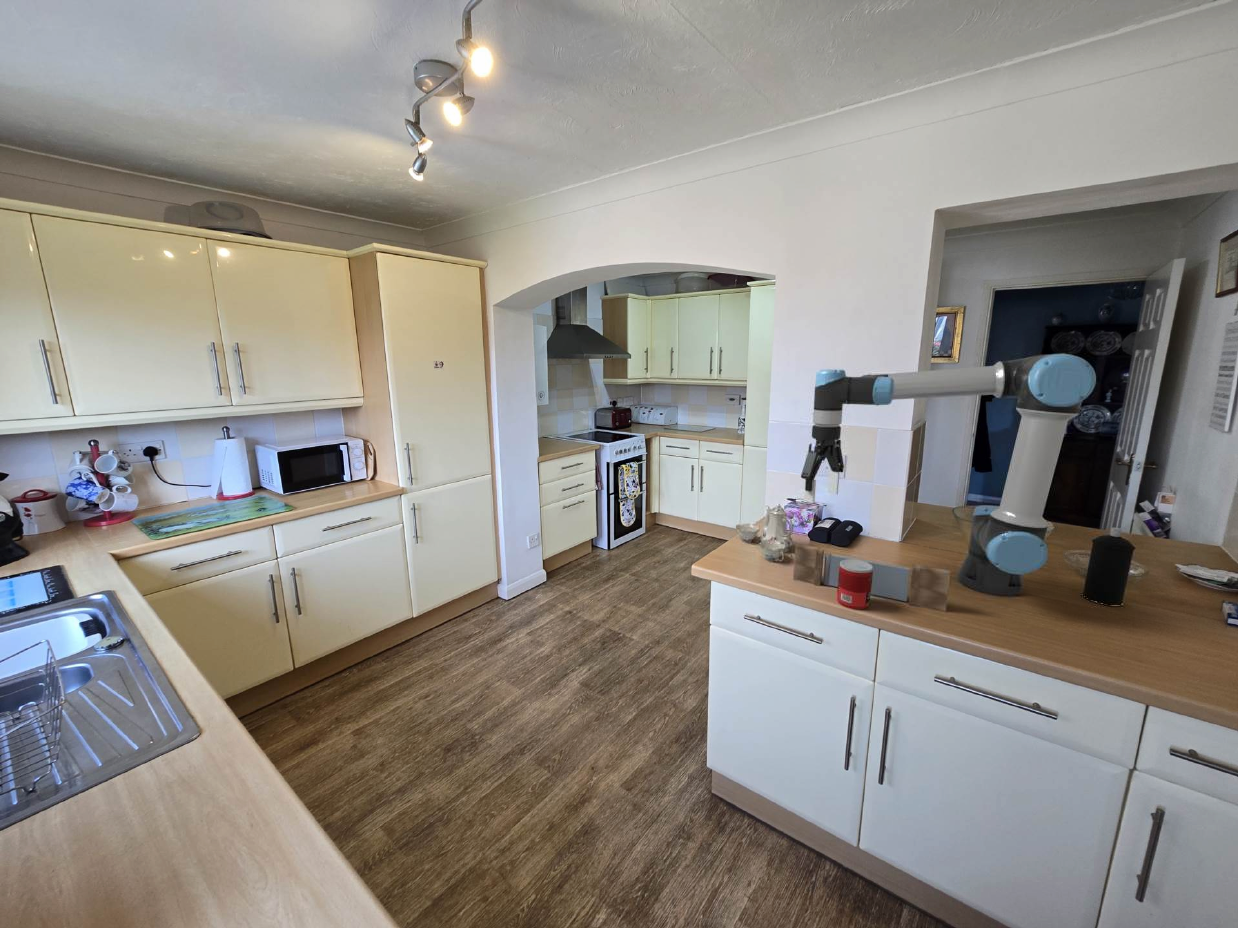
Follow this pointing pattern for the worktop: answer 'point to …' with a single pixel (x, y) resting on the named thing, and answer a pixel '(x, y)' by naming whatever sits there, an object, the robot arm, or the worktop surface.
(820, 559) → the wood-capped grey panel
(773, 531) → the chinaware
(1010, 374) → the robot arm
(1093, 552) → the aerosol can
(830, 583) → the door leaf
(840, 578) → the canned food
